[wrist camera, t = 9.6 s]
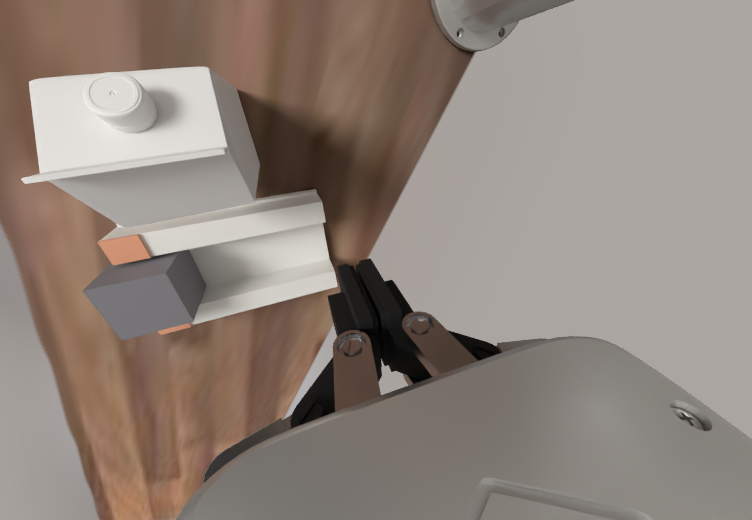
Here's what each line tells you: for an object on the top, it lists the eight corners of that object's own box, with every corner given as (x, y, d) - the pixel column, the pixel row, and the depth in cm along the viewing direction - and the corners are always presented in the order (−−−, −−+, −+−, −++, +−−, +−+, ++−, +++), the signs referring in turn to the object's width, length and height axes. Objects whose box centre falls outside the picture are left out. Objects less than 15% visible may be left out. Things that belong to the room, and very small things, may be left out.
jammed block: (185, 242, 29) (165, 273, 23) (206, 285, 32) (193, 321, 26) (120, 254, 27) (82, 290, 22) (148, 298, 30) (121, 340, 25)
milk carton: (260, 164, 29) (252, 225, 13) (188, 176, 27) (84, 261, 12) (236, 87, 25) (187, 49, 10) (152, 95, 24) (-71, 64, 8)
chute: (315, 188, 32) (322, 199, 28) (331, 271, 38) (338, 289, 34) (120, 220, 27) (95, 239, 23) (174, 310, 33) (161, 336, 29)
